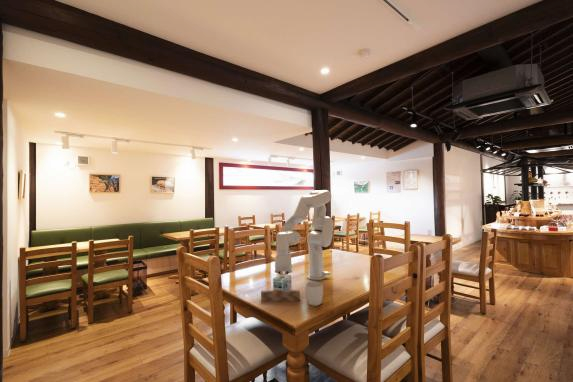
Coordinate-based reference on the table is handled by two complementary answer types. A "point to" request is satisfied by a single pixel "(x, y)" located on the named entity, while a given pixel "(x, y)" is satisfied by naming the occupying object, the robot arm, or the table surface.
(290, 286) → the light bulb box
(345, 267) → the table surface
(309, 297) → the mug
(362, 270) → the table surface
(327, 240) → the robot arm
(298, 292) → the walnut board
